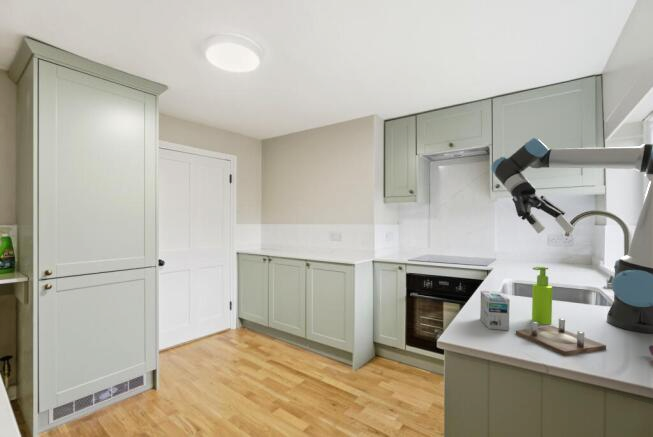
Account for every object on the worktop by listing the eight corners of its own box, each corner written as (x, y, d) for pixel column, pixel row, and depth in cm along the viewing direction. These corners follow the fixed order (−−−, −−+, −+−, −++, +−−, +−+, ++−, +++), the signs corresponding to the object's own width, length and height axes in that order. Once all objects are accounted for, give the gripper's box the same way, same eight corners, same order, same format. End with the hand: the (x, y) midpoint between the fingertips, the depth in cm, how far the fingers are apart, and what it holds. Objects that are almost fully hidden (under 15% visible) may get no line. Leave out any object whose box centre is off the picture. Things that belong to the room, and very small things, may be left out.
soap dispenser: (525, 319, 116) (527, 266, 116) (539, 318, 118) (541, 265, 118) (541, 325, 111) (542, 268, 110) (555, 323, 113) (556, 268, 112)
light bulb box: (509, 331, 105) (510, 299, 105) (488, 329, 107) (488, 297, 106) (499, 320, 116) (499, 291, 115) (479, 318, 117) (479, 290, 117)
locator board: (552, 329, 107) (553, 314, 107) (606, 349, 92) (606, 331, 91) (515, 334, 102) (515, 318, 102) (564, 355, 87) (565, 337, 87)
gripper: (537, 196, 127) (574, 237, 114) (488, 194, 120) (521, 237, 106) (551, 182, 122) (591, 223, 108) (500, 179, 115) (536, 223, 101)
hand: (556, 230), depth 107 cm, fingers open, 13 cm apart
